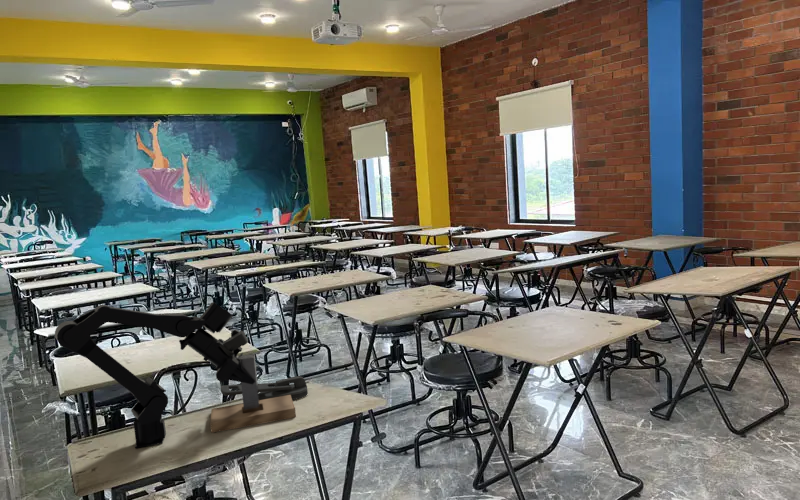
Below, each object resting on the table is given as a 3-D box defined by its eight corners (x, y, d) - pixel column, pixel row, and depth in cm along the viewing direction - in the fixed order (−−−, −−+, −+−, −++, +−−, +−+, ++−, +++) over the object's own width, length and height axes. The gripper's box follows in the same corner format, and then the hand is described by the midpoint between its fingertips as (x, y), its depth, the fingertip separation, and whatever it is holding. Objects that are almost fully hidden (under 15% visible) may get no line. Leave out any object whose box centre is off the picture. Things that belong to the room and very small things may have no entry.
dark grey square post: (243, 409, 154) (238, 359, 153) (244, 404, 158) (239, 355, 157) (259, 407, 155) (253, 357, 154) (259, 402, 159) (254, 353, 157)
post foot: (211, 432, 148) (210, 423, 148) (212, 417, 159) (211, 408, 159) (295, 416, 154) (294, 408, 154) (291, 403, 165) (290, 394, 165)
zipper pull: (218, 385, 167) (300, 368, 178) (221, 406, 168) (303, 388, 178) (223, 393, 159) (308, 374, 170) (225, 416, 160) (311, 396, 170)
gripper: (224, 330, 144) (272, 366, 147) (230, 317, 163) (273, 349, 166) (195, 364, 143) (244, 400, 147) (205, 347, 162) (248, 379, 165)
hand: (254, 380), depth 156 cm, fingers closed on dark grey square post, 4 cm apart
